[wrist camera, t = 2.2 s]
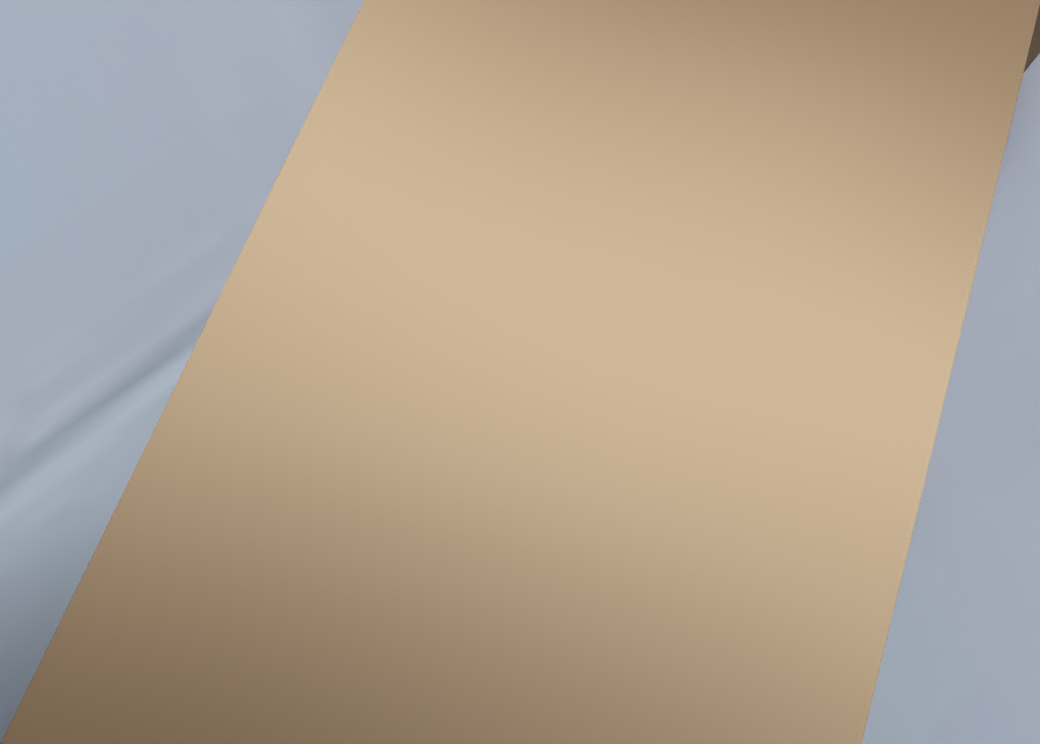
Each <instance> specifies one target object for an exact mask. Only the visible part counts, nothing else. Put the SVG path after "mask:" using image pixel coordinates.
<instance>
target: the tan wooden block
mask: <svg viewBox="0 0 1040 744" xmlns="http://www.w3.org/2000/svg"><path fill="white" fill-rule="evenodd" d="M1039 6H1040V0H364V2H363V4H362V6H361V8H360V10H359V12H358V14H357V16H356V18H355V20H354V22H353V24H352V26H351V28H350V30H349V32H348V34H347V36H346V38H345V41H344V43H343V45H342V47H341V49H340V51H339V53H338V55H337V57H336V59H335V61H334V63H333V65H332V67H331V69H330V71H329V73H328V75H327V77H326V79H325V81H324V83H323V86H322V88H321V90H320V92H319V94H318V96H317V98H316V100H315V102H314V104H313V106H312V108H311V110H310V112H309V114H308V116H307V118H306V120H305V122H304V124H303V126H302V128H301V131H300V133H299V135H298V137H297V139H296V141H295V143H294V145H293V147H292V149H291V151H290V153H289V155H288V157H287V159H286V161H285V163H284V165H283V167H282V169H281V171H280V173H279V176H278V178H277V180H276V182H275V184H274V186H273V188H272V190H271V192H270V194H269V196H268V198H267V200H266V202H265V204H264V206H263V208H262V210H261V212H260V214H259V216H258V218H257V221H256V223H255V225H254V227H253V229H252V231H251V233H250V235H249V237H248V239H247V241H246V243H245V245H244V247H243V249H242V251H241V253H240V255H239V257H238V259H237V261H236V263H235V266H234V268H233V270H232V272H231V274H230V276H229V278H228V280H227V282H226V284H225V286H224V288H223V290H222V292H221V294H220V296H219V298H218V300H217V302H216V304H215V306H214V309H213V311H212V313H211V315H210V317H209V319H208V321H207V323H206V325H205V327H204V329H203V331H202V333H201V335H200V337H199V339H198V341H197V343H196V345H195V347H194V349H193V351H192V354H191V356H190V358H189V360H188V362H187V364H186V366H185V368H184V370H183V372H182V374H181V376H180V378H179V380H178V382H177V384H176V386H175V388H174V390H173V392H172V394H171V396H170V399H169V401H168V403H167V405H166V407H165V409H164V411H163V413H162V415H161V417H160V419H159V421H158V423H157V425H156V427H155V429H154V431H153V433H152V435H151V437H150V439H149V441H148V444H147V446H146V448H145V450H144V452H143V454H142V456H141V458H140V460H139V462H138V464H137V466H136V468H135V470H134V472H133V474H132V476H131V478H130V480H129V482H128V484H127V486H126V489H125V491H124V493H123V495H122V497H121V499H120V501H119V503H118V505H117V507H116V509H115V511H114V513H113V515H112V517H111V519H110V521H109V523H108V525H107V527H106V529H105V531H104V534H103V536H102V538H101V540H100V542H99V544H98V546H97V548H96V550H95V552H94V554H93V556H92V558H91V560H90V562H89V564H88V566H87V568H86V570H85V572H84V574H83V576H82V579H81V581H80V583H79V585H78V587H77V589H76V591H75V593H74V595H73V597H72V599H71V601H70V603H69V605H68V607H67V609H66V611H65V613H64V615H63V617H62V619H61V621H60V624H59V626H58V628H57V630H56V632H55V634H54V636H53V638H52V640H51V642H50V644H49V646H48V648H47V650H46V652H45V654H44V656H43V658H42V660H41V662H40V664H39V666H38V669H37V671H36V673H35V675H34V677H33V679H32V681H31V683H30V685H29V687H28V689H27V691H26V693H25V695H24V697H23V699H22V701H21V703H20V705H19V707H18V709H17V711H16V714H15V716H14V718H13V720H12V722H11V724H10V726H9V728H8V730H7V732H6V734H5V736H4V738H3V740H2V742H1V744H862V739H863V735H864V731H865V727H866V723H867V719H868V715H869V710H870V706H871V702H872V698H873V694H874V690H875V686H876V681H877V677H878V673H879V669H880V665H881V661H882V657H883V652H884V648H885V644H886V640H887V636H888V632H889V628H890V623H891V619H892V615H893V611H894V607H895V603H896V599H897V594H898V590H899V586H900V582H901V578H902V574H903V569H904V565H905V561H906V557H907V553H908V549H909V545H910V540H911V536H912V532H913V528H914V524H915V520H916V516H917V511H918V507H919V503H920V499H921V495H922V491H923V487H924V482H925V478H926V474H927V470H928V466H929V462H930V458H931V453H932V449H933V445H934V441H935V437H936V433H937V429H938V424H939V420H940V416H941V412H942V408H943V404H944V400H945V395H946V391H947V387H948V383H949V379H950V375H951V371H952V366H953V362H954V358H955V354H956V350H957V346H958V342H959V337H960V333H961V329H962V325H963V321H964V317H965V313H966V308H967V304H968V300H969V296H970V292H971V288H972V283H973V279H974V275H975V271H976V267H977V263H978V259H979V254H980V250H981V246H982V242H983V238H984V234H985V230H986V225H987V221H988V217H989V213H990V209H991V205H992V201H993V196H994V192H995V188H996V184H997V180H998V176H999V172H1000V167H1001V163H1002V159H1003V155H1004V151H1005V147H1006V143H1007V138H1008V134H1009V130H1010V126H1011V122H1012V118H1013V114H1014V109H1015V105H1016V101H1017V97H1018V93H1019V89H1020V85H1021V80H1022V76H1023V72H1024V68H1025V64H1026V60H1027V56H1028V51H1029V47H1030V43H1031V39H1032V35H1033V31H1034V27H1035V22H1036V18H1037V14H1038V10H1039Z"/></svg>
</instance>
